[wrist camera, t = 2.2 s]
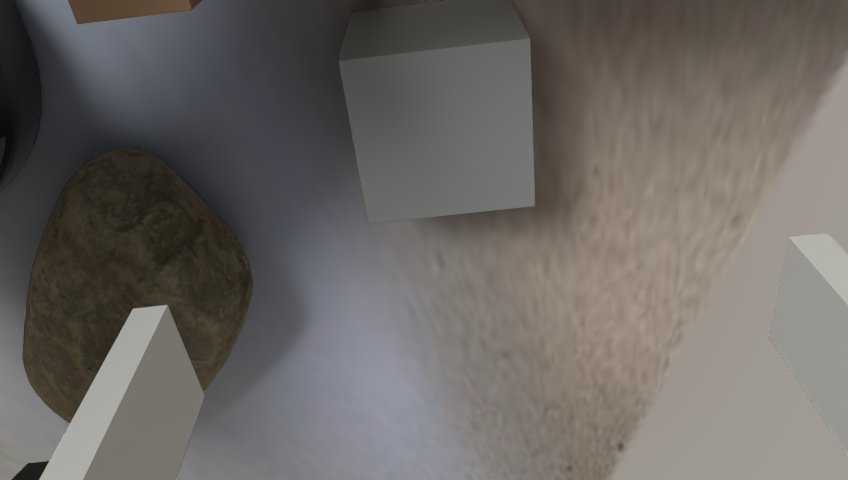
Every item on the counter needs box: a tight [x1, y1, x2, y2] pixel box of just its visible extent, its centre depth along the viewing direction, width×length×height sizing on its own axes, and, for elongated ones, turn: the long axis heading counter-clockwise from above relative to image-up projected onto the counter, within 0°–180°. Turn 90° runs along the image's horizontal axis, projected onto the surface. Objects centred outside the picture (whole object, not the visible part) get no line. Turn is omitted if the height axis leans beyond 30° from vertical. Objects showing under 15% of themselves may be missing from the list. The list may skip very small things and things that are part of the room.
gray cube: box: [338, 0, 535, 224], centre depth 25 cm, size 6×6×6 cm
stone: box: [23, 148, 253, 423], centre depth 31 cm, size 9×14×10 cm, turn 150°
